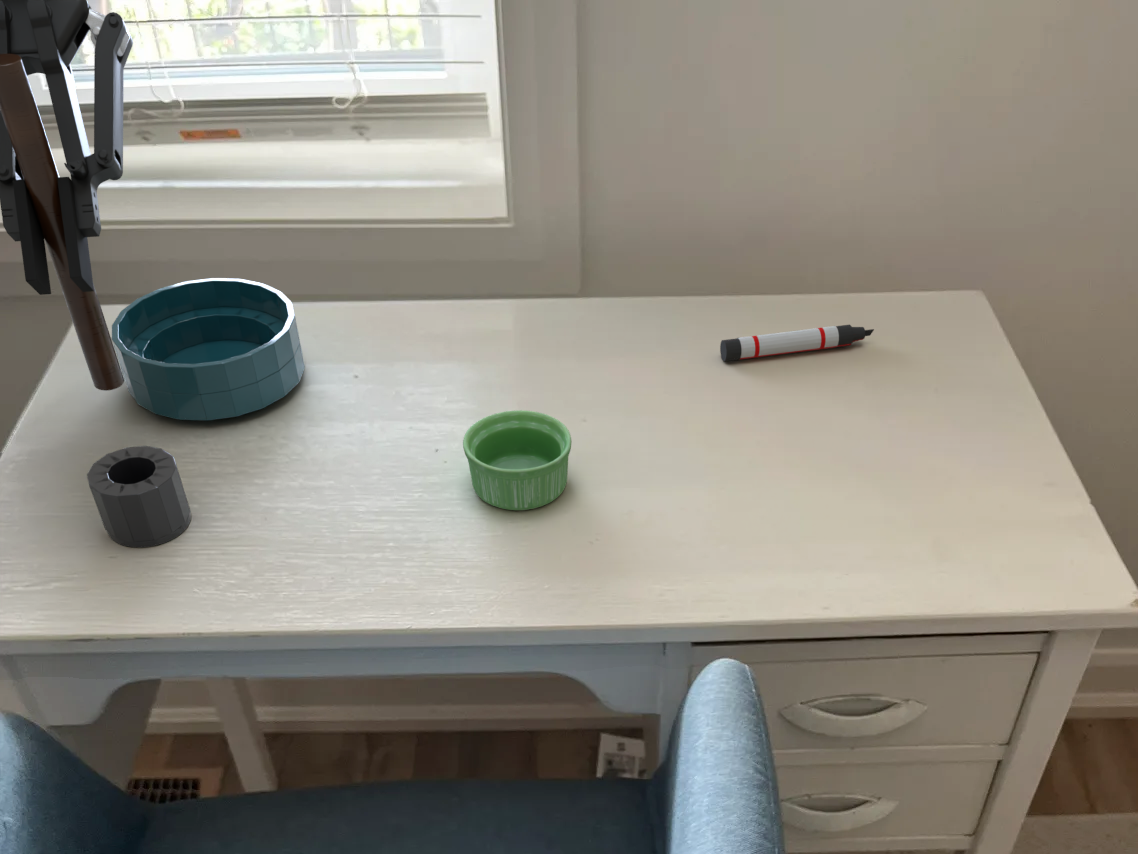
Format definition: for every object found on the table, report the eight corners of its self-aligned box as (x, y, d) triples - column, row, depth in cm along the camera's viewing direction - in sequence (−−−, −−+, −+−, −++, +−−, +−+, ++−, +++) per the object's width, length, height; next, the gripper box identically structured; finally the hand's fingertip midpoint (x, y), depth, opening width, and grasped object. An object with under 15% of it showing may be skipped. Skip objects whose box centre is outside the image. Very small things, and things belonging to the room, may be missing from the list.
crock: (94, 546, 96) (74, 494, 92) (122, 495, 101) (103, 444, 97) (177, 549, 96) (161, 497, 92) (201, 498, 100) (186, 446, 97)
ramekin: (507, 443, 106) (504, 398, 102) (592, 475, 103) (592, 430, 99) (445, 493, 101) (440, 448, 98) (533, 529, 98) (531, 483, 94)
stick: (90, 390, 90) (-22, 65, 73) (100, 374, 91) (-8, 52, 74) (119, 391, 89) (13, 66, 73) (128, 375, 91) (26, 53, 74)
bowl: (107, 425, 108) (86, 364, 103) (160, 334, 118) (143, 275, 114) (284, 431, 107) (271, 369, 103) (321, 339, 118) (310, 280, 113)
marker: (725, 365, 114) (727, 345, 113) (719, 355, 116) (721, 335, 114) (875, 346, 117) (878, 327, 115) (867, 336, 118) (871, 317, 116)
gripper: (146, -47, 83) (188, 297, 85) (-81, -38, 82) (-34, 312, 84) (115, -121, 76) (161, 257, 78) (-136, -112, 74) (-83, 273, 76)
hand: (60, 285), depth 81 cm, fingers closed on stick, 2 cm apart
